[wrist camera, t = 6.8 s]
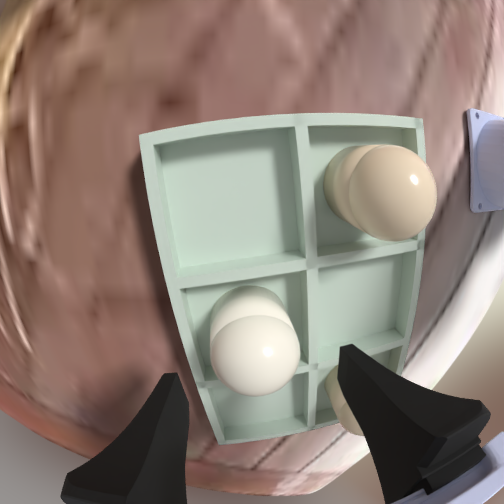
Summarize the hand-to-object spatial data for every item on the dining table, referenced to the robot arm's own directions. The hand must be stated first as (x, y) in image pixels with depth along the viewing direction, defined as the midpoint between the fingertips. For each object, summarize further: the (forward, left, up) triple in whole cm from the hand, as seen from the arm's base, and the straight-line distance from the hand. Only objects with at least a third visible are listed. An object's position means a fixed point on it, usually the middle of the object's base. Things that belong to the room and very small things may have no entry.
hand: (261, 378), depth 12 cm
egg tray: (-3, 0, -6) cm, 7 cm away
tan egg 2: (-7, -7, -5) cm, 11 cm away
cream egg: (0, 0, -5) cm, 5 cm away
